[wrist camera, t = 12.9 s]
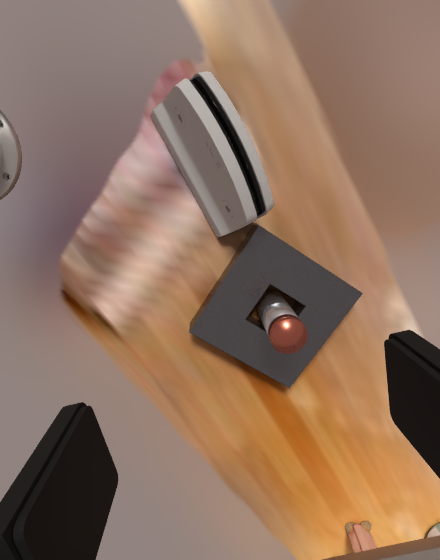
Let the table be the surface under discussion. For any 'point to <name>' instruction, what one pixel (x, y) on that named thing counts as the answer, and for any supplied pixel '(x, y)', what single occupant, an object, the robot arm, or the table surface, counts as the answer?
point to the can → (434, 530)
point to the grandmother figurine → (360, 536)
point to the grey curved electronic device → (214, 153)
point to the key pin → (281, 323)
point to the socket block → (248, 290)
